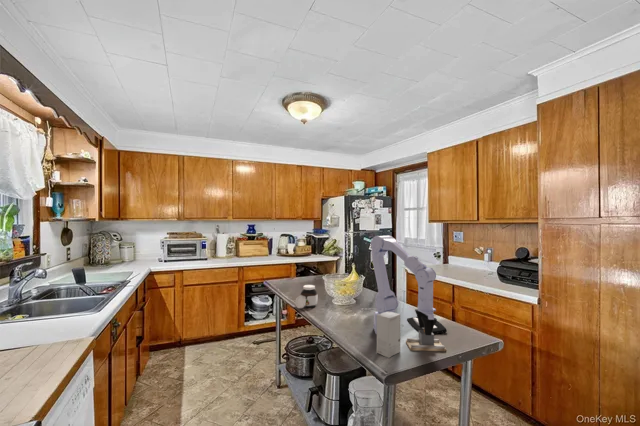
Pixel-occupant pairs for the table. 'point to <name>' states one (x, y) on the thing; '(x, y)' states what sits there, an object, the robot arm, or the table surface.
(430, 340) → the module
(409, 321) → the black picture frame
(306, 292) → the spread jar
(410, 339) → the rail board
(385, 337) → the skincare box
